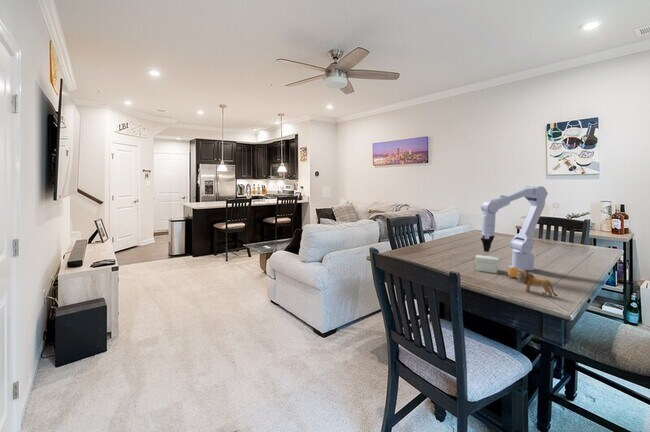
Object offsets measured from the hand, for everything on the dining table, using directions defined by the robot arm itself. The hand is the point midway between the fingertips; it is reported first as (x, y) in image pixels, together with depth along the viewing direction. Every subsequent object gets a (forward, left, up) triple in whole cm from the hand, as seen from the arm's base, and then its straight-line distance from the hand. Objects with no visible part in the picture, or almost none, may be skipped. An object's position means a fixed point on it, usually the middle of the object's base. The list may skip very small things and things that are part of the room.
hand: (487, 250), depth 162 cm
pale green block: (0, 0, -11) cm, 11 cm away
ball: (-6, +13, -8) cm, 16 cm away
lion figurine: (-1, +33, -11) cm, 35 cm away
